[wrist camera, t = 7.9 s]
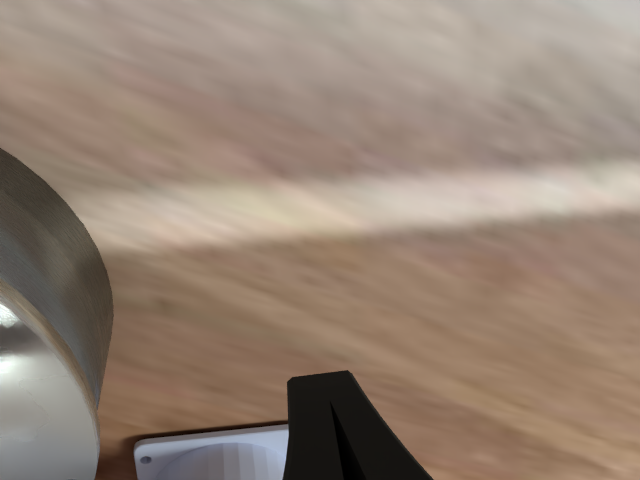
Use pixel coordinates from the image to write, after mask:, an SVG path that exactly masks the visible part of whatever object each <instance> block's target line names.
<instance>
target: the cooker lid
mask: <svg viewBox="0 0 640 480" xmlns="http://www.w3.org/2000/svg"><path fill="white" fill-rule="evenodd" d="M99 452H100V423H99V418H98V412H97V407H96V401H95V398H94V396H93V393H92V390H91V388H90V385H89V383H88V380H87V377H86V375H85V373H84V371H83V369H82V368H81V366H80V364H79V363H78V361H77V359H76V358H75V356H74V354H73V352H72V351H71V349H70V347H69V346H68V345H67V343H66V342H65V341H64V340H63V338H62V337H61V336H60V335H59V333H58V332H57V331H56V330H55V328H54V327H53V326H52V325H51V324H50V322H49V321H48V320H47V319H46V318H45V317H44V316H43V315H42V314H41V313H40V312H39V311H38V310H37V309H36V308H35V307H34V306H33V305H32V304H31V303H30V302H29V301H28V300H26V299H25V298H24V297H23V296H22V295H21V294H20V293H19V292H18V291H17V290H16V289H14V288H13V287H12V286H10V285H9V284H8V283H6V282H5V281H4V280H2V279H1V278H0V480H94V479H95V475H96V470H97V464H98V458H99Z"/></svg>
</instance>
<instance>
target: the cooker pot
mask: <svg viewBox="0 0 640 480" xmlns="http://www.w3.org/2000/svg"><path fill="white" fill-rule="evenodd" d="M0 278H1V279H2V280H4V281H5V282H6V283H8V284H9V285H10V286H12V287H13V288H14V289H16V290H17V291H18V292H19V293H20V294H21V295H22V296H23V297H24V298H25V299H26V300H28V301H29V302H30V303H31V304H32V305H33V306H34V307H35V308H36V309H37V310H38V311H39V312H40V313H41V314H42V315H43V316H44V317H45V318H46V319H47V320H48V321H49V322H50V324H51V325H52V326H53V327H54V328H55V330H56V331H57V332H58V333H59V335H60V336H61V337H62V338H63V340H64V341H65V342H66V343H67V345H68V346H69V347H70V349H71V351H72V352H73V354H74V356H75V358H76V359H77V361H78V363H79V364H80V366H81V368H82V369H83V371H84V373H85V375H86V377H87V380H88V383H89V385H90V388H91V390H92V393H93V396H94V398H95V401H96V407H97V410H98V404H99V399H100V394H101V388H102V383H103V378H104V372H105V367H106V362H107V356H108V351H109V346H110V340H111V334H112V325H113V316H114V315H113V299H112V291H111V287H110V283H109V278H108V274H107V270H106V268H105V266H104V263H103V261H102V258H101V256H100V253H99V251H98V248H97V247H96V245H95V243H94V242H93V240H92V238H91V237H90V235H89V233H88V231H87V230H86V228H85V226H84V225H83V224H82V222H81V221H80V220H79V218H78V217H77V216H76V215H75V213H74V212H73V211H72V209H71V208H70V207H69V206H68V204H67V203H66V202H65V201H64V200H63V199H62V198H61V197H60V196H59V195H58V194H57V193H56V192H55V191H54V190H53V189H52V188H51V187H50V186H49V185H48V184H47V183H46V182H45V181H44V180H43V179H42V178H41V177H39V176H38V175H37V174H35V173H34V172H33V171H32V170H30V169H29V168H28V167H27V166H25V165H24V164H23V163H22V162H20V161H19V160H18V159H17V158H15V157H13V156H12V155H10V154H9V153H7V152H6V151H4V150H2V149H1V148H0Z"/></svg>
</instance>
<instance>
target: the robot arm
mask: <svg viewBox="0 0 640 480" xmlns="http://www.w3.org/2000/svg"><path fill="white" fill-rule="evenodd" d="M287 395H288V424H285V425H276V426H266V427H256V428H247V429H237V430H227V431H218V432H208V433H198V434H189V435H179V436H169V437H160V438H150V439H143V440H140V441H138V442H136V444H135V446H134V459H135V466H136V472H137V479H138V480H433V478H432V477H431V476H430V475H429V474H428V473H427V472H426V471H425V470H424V469H423V467H422V466H421V465H420V464H419V463H418V462H417V461H416V460H415V458H414V457H413V456H412V455H411V454H410V452H409V451H408V450H407V449H406V448H405V446H404V445H403V444H402V443H401V441H400V440H399V439H398V438H397V437H396V435H395V434H394V433H393V432H392V430H391V429H390V428H389V427H388V425H387V424H386V423H385V421H384V420H383V419H382V417H381V416H380V415H379V413H378V412H377V410H376V409H375V408H374V406H373V405H372V404H371V402H370V401H369V399H368V398H367V396H366V395H365V393H364V392H363V390H362V389H361V387H360V386H359V384H358V383H357V381H356V379H355V378H354V376H353V374H352V373H350V372H349V371H348V370H346V371H338V372H330V373H322V374H314V375H306V376H299V377H292V378H291V379H290V380H289V381H288V382H287ZM145 456H149V457H145Z"/></svg>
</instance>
